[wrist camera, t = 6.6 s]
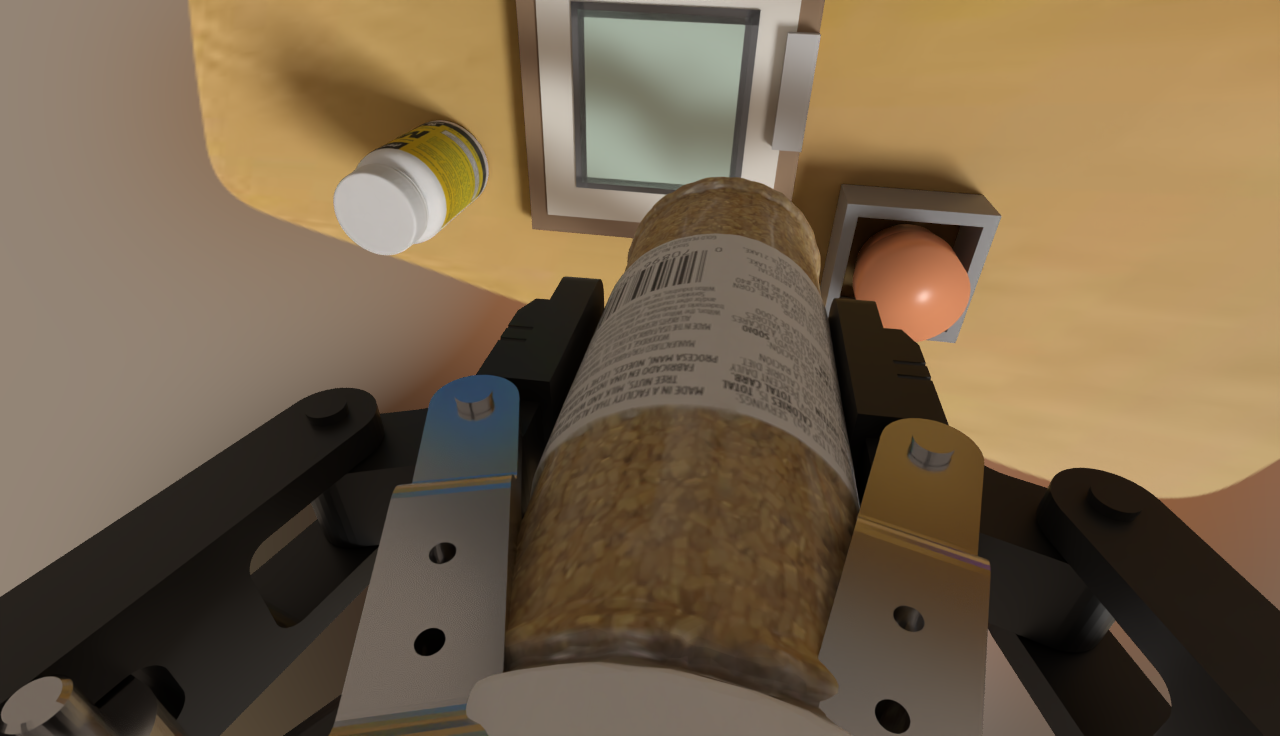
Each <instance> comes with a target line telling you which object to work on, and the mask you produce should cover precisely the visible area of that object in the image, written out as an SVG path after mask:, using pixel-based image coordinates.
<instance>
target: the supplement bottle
mask: <svg viewBox="0 0 1280 736" xmlns="http://www.w3.org/2000/svg"><path fill="white" fill-rule="evenodd" d="M488 172H489V170H488V162H487V158H486V155H485V153H484V151H483V149H482V147H481V145H480V144H479V142H478V141H477V140H476V139H475V137H474V136H473V135H472V134H471V133H469V132H468V131H467V130H466V129H464V128H463V127H461V126H459V125H457V124H455V123H452V122H449V121H442V120H438V121H431V122H427V123H425V124H423V125H421V126H419V127H417V128H415V129H413V130H412V131H410V132H408V133H406V134H404V135H402V136H400V137H398V138H396V139H395V140H393V141H391V142H389V143H387V144H386V145H384V146H382V147H380V148H378V149H376V150H374V151H372V152H371V153H369V154H368V155H367V156H365V157H364V158H363V159H362V160H361V161H360V163H359V164H358V166H357V168H356V169H355V170H354V171H353V172H352V173H350V174H349V175H347V176H346V177H345V178H343V179H342V180H341V181H340V183H339V184H338V185H337V188H336V190H335V193H334V210H335V214H336V217H337V219H338V222H339V224H340V225H341V227H342V229H343V230H344V231H345V233H346V234H347V235H348V236H349V237H350V238H351V239H352V240H353V241H354V242H355V243H356V244H358V245H359V246H361V247H362V248H364V249H366V250H368V251H370V252H373V253H376V254H380V255H394V254H398V253H401V252H403V251H404V250H406V249H407V248H409V247H410V246H411V245H413V244H417V243H421V242H424V241H427V240H429V239H430V238H432V237H433V236H435V235H436V234H437V233H438V232H439V231H440V230H441V229H442V228H444V227H445V226H446V225H447V224H448V223H449V222H450V221H451V220H453V219H454V218H455V217H456V216H457V215H458V214H459V213H461V212H462V211H463V210H464V209H465V208H466V207H468V206H469V205H470V204H471V203H472V202H473V201H474V200H476V199H477V198H478V197H479V196H480V194H481V193H482V192H483V190H484V188H485V186H486V183H487V180H488Z"/></svg>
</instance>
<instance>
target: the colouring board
mask: <svg viewBox="0 0 1280 736" xmlns="http://www.w3.org/2000/svg"><path fill="white" fill-rule="evenodd" d="M824 2H825V0H516V9H517V22H518V36H519V50H520V64H521V77H522V91H523V105H524V119H525V132H526V146H527V160H528V174H529V188H530V201H531V215H532V229H538V230H549V231H560V232H571V233H582V234H593V235H604V236H615V237H626V238H634V235H635V232H636V230H637V228H638V225H639V224H640V222H641V221H642V220H643V218H644V217H645V215H646V214H647V213H648V212H649V211H650V210H651V209H652V207H653V206H654V205H655V204H656V203H657V202H658V201H659V200H660V199H661V198H663V197H664V196H665V195H667V194H669V193H673V192H674V191H676V190H677V189H678V188H680V187H681V186H683V185H686V184H689V183H693V182H696V181H698V180H701V179H704V178H709V177H730V178H733V177H739V178H744V179H747V180H750V181H755V182H759V183H762V184H765V185H766V186H768V187H770V188H772V189H774V190H776V191H779V192H781V193H783V194H784V195H785V196H786V197H787V198H788V199H789V200H790V201H792V195H793V189H794V183H795V177H796V171H797V165H798V159H799V153H800V152H801V150H802V144H803V138H804V132H805V126H806V120H807V114H808V108H809V102H810V96H811V90H812V84H813V78H814V72H815V66H816V60H817V54H818V48H819V42H820V36H821V35H820V33H819V32H820V26H821V20H822V14H823V8H824Z"/></svg>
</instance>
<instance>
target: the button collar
mask: <svg viewBox="0 0 1280 736" xmlns="http://www.w3.org/2000/svg"><path fill="white" fill-rule="evenodd" d="M858 217H867V218H879V219H891V220H903V221H915V222H927V223H939V224H951V225H961V226H960V229H959V232H958V235H957V238H956V241H955V244H954V247H953V251H954V252H955V254H956V256H957V257H958V259H959V261H960V262H961V264H962V265H963V267H964V269H965V270H966V272H967V274H968V277H969V280H970V289H971V291H970V298H969V301H968V304H967V307H966V309H965V311H964V312H963V314H962V315H961V317H960V318H959V319H958V320H957V321H956V322H955V323H954V324H953V325H952V326H951V327H950V328H948V329H947V330H946V331H944V332H942V333H941V334H939V335H937V336H935V337H932V338H930V339H927V340H931V341H941V342H950V343H956V340H957V337H958V334H959V331H960V329H961V326H962V323H963V320H964V318H965V315H966V312H967V309H968V307H969V304H970V301H971V298H972V296H973V293H974V290H975V287H976V285H977V282H978V279H979V276H980V274H981V271H982V268H983V265H984V263H985V260H986V257H987V254H988V252H989V249H990V246H991V243H992V241H993V238H994V235H995V232H996V230H997V227H998V224H999V221H1000V219H1001V215H1000V214H999V213H998V211H997V210H996V209H995V208H994V207H993V206H992V204H991V203H990V202H989V201H988V200H987V199H986V197H985V196H984V195H977V194H964V193H951V192H938V191H925V190H912V189H899V188H886V187H873V186H860V185H847V184H842V185H841V190H840V195H839V199H838V204H837V209H836V214H835V219H834V223H833V228H832V233H831V238H830V242H829V247H828V252H827V257H826V262H825V266H824V271H823V276H822V281H821V286H820V292H821V298H822V300H823V303H824V306H825V309H826V312H827V316H829V311H830V307H831V304H832V301H833V299H834V298H841V299H854V300H856V298H855V297H845V296H840V293H841V288H842V284H843V280H844V275H845V271H846V267H847V262H848V258H849V254H850V249H851V245H852V240H853V236H854V232H855V227H856V223H857V219H858Z"/></svg>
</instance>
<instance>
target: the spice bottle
mask: <svg viewBox="0 0 1280 736" xmlns="http://www.w3.org/2000/svg"><path fill="white" fill-rule="evenodd" d="M627 262H628V264H627V267H626V270H625V273H624V274H623V275H622V276H621V278H620V279H619V281H618V282H617V283H616V285H615V287H614V289H613V291H612V293H611V295H610V297H609V299H608V302H607V304H606V306H605V308H604V311H603V313H602V315H601V318H600V320H599V323H598V325H597V327H596V330H595V332H594V335H593V337H592V339H591V342H590V344H589V346H588V349H587V351H586V353H585V356H584V358H583V360H582V362H581V365H580V367H579V369H578V372H577V374H576V376H575V379H574V381H573V383H572V386H571V388H570V390H569V393H568V395H567V397H566V400H565V402H564V404H563V407H562V409H561V411H560V414H559V416H558V419H557V421H556V424H555V426H554V428H553V431H552V433H551V436H550V438H549V440H548V443H547V445H546V448H545V450H544V452H543V455H542V457H541V460H540V462H539V465H538V467H537V470H536V472H535V475H534V478H533V482H532V489H531V497H530V502H529V504H528V506H527V509H526V512H525V514H524V517H523V519H522V521H521V525H520V531H519V534H518V542H517V554H516V562H515V567H514V576H513V582H512V593H511V607H510V619H509V626H508V630H507V632H506V642H505V648H506V662H507V669H506V672H505V673H500V674H496V675H491V676H488V677H486V678H484V679H481V680H479V681H478V682H477V683H476V684H475V685H474V687H473V688H472V690H471V693H470V696H469V698H468V702H467V706H466V714H467V716H468V718H470V719H471V720H473V721H475V722H477V723H479V724H481V726H482V727H483V728H484V729H485V730H486V732H487V734H488V736H853V735H852V734H850V733H848V732H847V731H845V730H844V729H842V728H841V727H839V726H837V725H836V724H835V723H834V722H833V721H831V720H830V719H829V718H827V717H826V714H825V713H824V712H823V711H822V710H821V709H820V708H819V704H820V701H825V700H827V699H829V698H831V697H832V696H834V695H836V694H837V693H838V687H839V685H838V683H837V681H836V679H835V677H834V676H833V675H832V674H831V672H830V671H829V670H828V669H827V668H826V667H825V666H824V665H823V664H822V663H821V662H820V661H819V659H818V656H819V652H820V649H821V645H822V642H823V638H824V635H825V631H826V628H827V624H828V620H829V617H830V613H831V610H832V606H833V603H834V599H835V596H836V592H837V588H838V585H839V581H840V578H841V574H842V571H843V567H844V564H845V560H846V556H847V553H848V549H849V546H850V542H851V539H852V535H853V531H854V528H855V524H856V521H857V517H858V514H859V510H860V505H859V499H858V493H857V488H856V481H855V474H854V468H853V461H852V456H851V450H850V445H849V439H848V434H847V428H846V422H845V417H844V411H843V406H842V400H841V394H840V388H839V382H838V376H837V370H836V364H835V358H834V352H833V345H832V338H831V332H830V326H829V321H828V316H827V312H826V309H825V306H824V303H823V300H822V298H821V292H820V285H819V274H820V252H819V249H818V247H817V244H816V241H815V235H814V232H813V230H812V228H811V226H810V225H809V223H808V221H807V219H806V218H805V216H804V214H803V213H802V212H801V211H800V210H799V209H798V208H797V207H796V206H795V205H794V204H793V203H792V202H791V201H790V200H789V199H788V198H787V197H786V196H785V195H784V194H783V193H781V192H779V191H776V190H774V189H772V188H770V187H768V186H766V185H765V184H762V183H759V182H755V181H750V180H747V179H744V178H739V177H733V178H730V177H709V178H704V179H701V180H698V181H696V182H693V183H689V184H686V185H683V186H681V187H680V188H678V189H677V190H676V191H674V192H673V193H669V194H667V195H665V196H664V197H663V198H661V199H660V200H659V201H658V202H657V203H656V204H655V205H654V206H653V207H652V209H651V210H650V211H649V212H648V213H647V214H646V215H645V217H644V218H643V220H642V221H641V222H640V224H639V225H638V228H637V230H636V232H635V235H634V238H633V241H632V244H631V246H630V248H629V252H628V261H627Z"/></svg>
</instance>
